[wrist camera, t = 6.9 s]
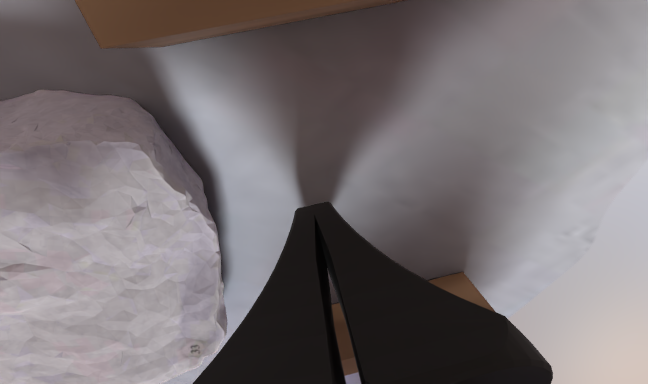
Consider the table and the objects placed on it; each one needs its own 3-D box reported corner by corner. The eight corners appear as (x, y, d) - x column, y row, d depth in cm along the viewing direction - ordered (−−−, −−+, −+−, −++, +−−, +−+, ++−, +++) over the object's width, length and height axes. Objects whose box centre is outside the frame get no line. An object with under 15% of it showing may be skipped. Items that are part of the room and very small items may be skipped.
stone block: (176, 69, 10) (-227, 113, 7) (152, 90, 6) (-787, 209, 3) (249, 278, 16) (54, 343, 13) (261, 355, 12) (-10, 468, 9)
